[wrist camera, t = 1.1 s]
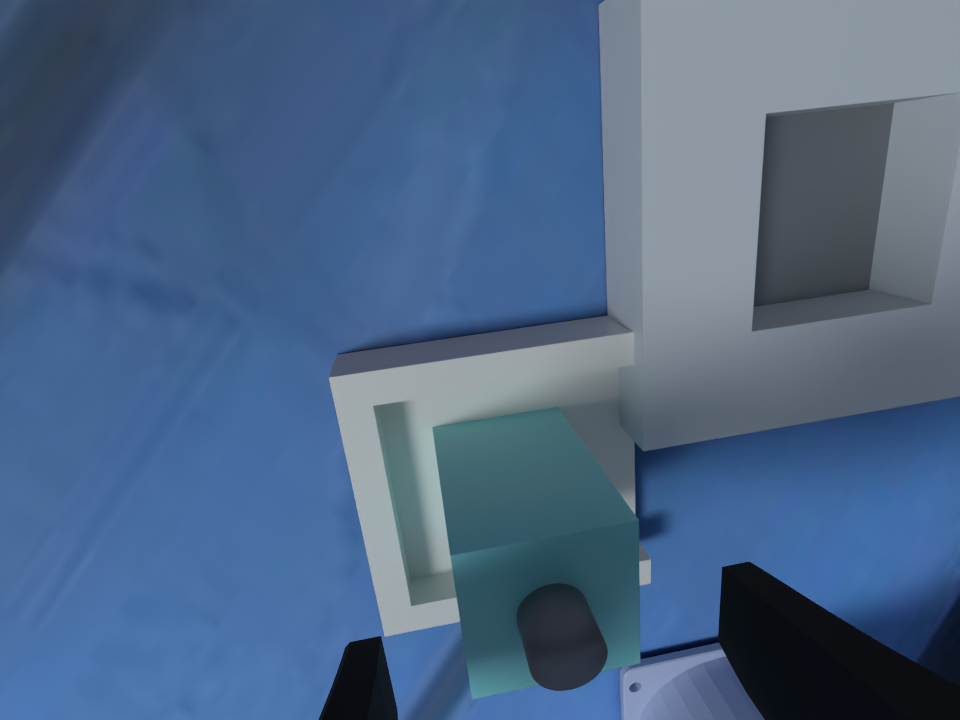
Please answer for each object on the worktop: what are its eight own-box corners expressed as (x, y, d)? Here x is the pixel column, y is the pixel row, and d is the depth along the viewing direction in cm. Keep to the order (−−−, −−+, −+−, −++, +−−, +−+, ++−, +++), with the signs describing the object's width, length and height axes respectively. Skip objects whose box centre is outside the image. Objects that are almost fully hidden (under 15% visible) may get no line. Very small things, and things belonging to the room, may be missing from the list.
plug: (565, 513, 18) (664, 710, 11) (448, 535, 18) (480, 752, 11) (558, 406, 17) (665, 558, 10) (432, 427, 16) (456, 599, 10)
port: (928, 362, 19) (1004, 388, 17) (610, 415, 18) (643, 451, 16) (999, -28, 15) (1112, -68, 13) (598, 5, 14) (640, -31, 12)
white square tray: (626, 545, 20) (650, 583, 18) (386, 591, 19) (384, 636, 17) (622, 313, 17) (650, 329, 15) (336, 354, 16) (329, 377, 14)
